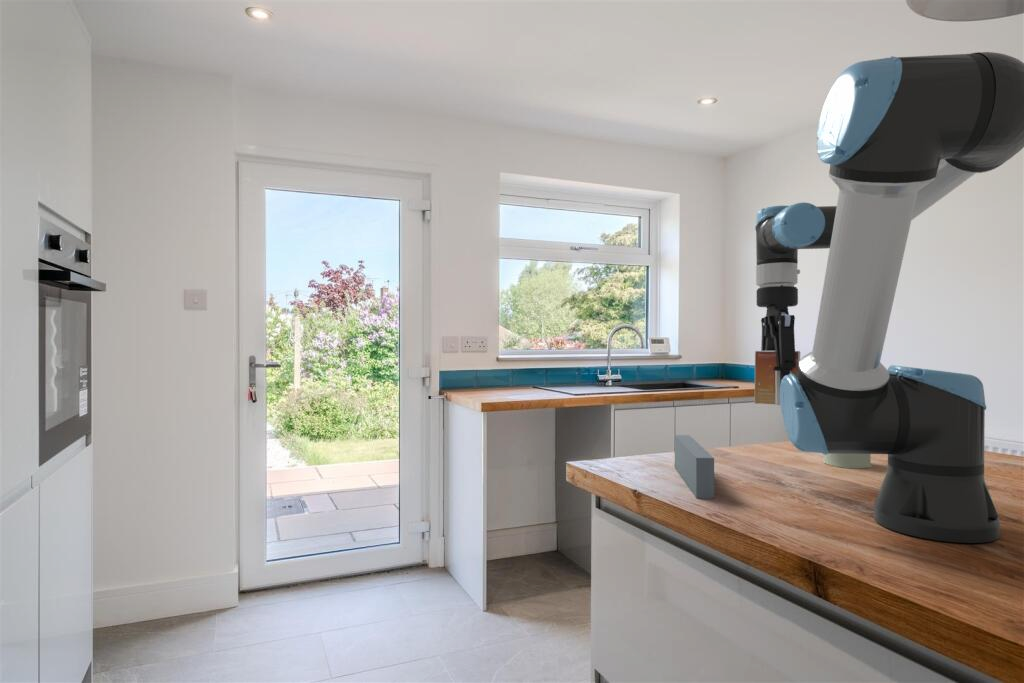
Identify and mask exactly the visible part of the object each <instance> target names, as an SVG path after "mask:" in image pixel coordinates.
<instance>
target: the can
mask: <svg viewBox="0 0 1024 683" xmlns="http://www.w3.org/2000/svg"><path fill="white" fill-rule="evenodd" d="M871 455H872V454H840V453H828V454H827V455H825V454H823V460H822V463H823V462H824V463H823V464H825V463H826V464H825V465H827V464H829V465H828V466H830V465H832V466H831V467H835V466H837V468H841V467H844V468H843V469H856V470H857V469H868V468H871V467H872V461H871Z"/></svg>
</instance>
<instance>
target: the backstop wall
mask: <svg viewBox="0 0 1024 683" xmlns="http://www.w3.org/2000/svg"><path fill="white" fill-rule="evenodd" d="M674 470H676V472H677V474H678V475H679V476H680V477H681V479H682V481H683V482H684V483H685V484H686V486H687V487H688V489H689V491H690V492H691V493H692V494H693V495H694V497H695V498H696V499H715V457H714V456H713V455H712V454H710V453H709V452H708V451H707V450H706V449H705V448H704V446H702V445H701V444H700V443H698V441H696V439H694V437H692V436H690V435H689V434H674Z"/></svg>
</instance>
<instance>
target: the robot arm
mask: <svg viewBox="0 0 1024 683" xmlns="http://www.w3.org/2000/svg"><path fill="white" fill-rule="evenodd" d="M820 112H821V113H820V116H819V121H818V126H817V131H816V132H817V133H816V139H817V144H816V151H817V155H818V158H819V160H821V162H822V163H824V164H827V165H829V171H828V177H829V178H830V179H831V180H832V181H833V183H834V184H836V186H837V187H838V189H839V191H838V195H837V201H836V202H837V203H836V205H831V206H830V205H829V206H828V205H826V206H824V205H823V206H817V205H815V204H813V203H810V202H796V203H793V204H790V205H773V206H767V207H766V208H761V209H759V211H758V212H756V213H757V214H756V222H755V227H754V230H755V236H756V238H755V239H756V240H755V242H756V243H755V244H756V245H755V246H756V247H755V248H756V252H755V254H756V265H755V276H756V277H755V283H756V284H755V285H756V286H758V287H759V288H757V289H756V306H757V307H758V308H765V309H766V315H765V316H764V317H761V320H760V322H761V346H760V347H761V348H760V351H775V352H776V361H777V367H774V368H773V370H774V371H775V397H776V405H775V406H780V409H781V416H782V420H783V425H784V428H785V433H786V434H787V437H788V439H789V441H790V443H792V445H793V446H794V447H795V448H796V449H797V450H798V451H801V452H804V453H815V454H817V453H818V454H822V455H824V454H825V455H827V454H828V453H840V454H871V455H887V470H886V473H885V476H884V479H883V481H882V484H881V486H880V488H879V491H878V494H877V496H876V499H875V502H874V505H873V506H874V508H873V510H874V511H873V512H874V513H873V517H874V518H873V519H874V521H875V522H876V523H877V524H879V525H881V526H882V527H884V528H886V529H888V530H892V531H894V532H897V533H900V534H905V535H909V536H913V537H918V538H922V539H927V540H933V541H939V542H947V543H948V542H949V543H960V544H961V543H962V544H980V543H981V544H983V543H989V542H994V541H996V540H998V539H1000V537H1001V525H1000V524H1001V521H1000V517H999V515H998V512H997V509H996V507H995V504H994V502H993V499H992V496H991V494H990V491H989V489H988V486H987V483H986V480H985V422H986V421H985V416H986V414H985V411H986V410H987V405H986V399H985V389H984V384H983V382H982V381H981V379H980V378H979V377H977V376H975V375H972V374H968V373H960V372H954V371H953V372H952V371H945V370H944V371H943V370H935V369H928V368H919V367H912V366H903V365H902V366H901V365H894V364H893V365H889V366H888V369H887V367H886V366H884V365H883V364H882V362H881V359H882V355H883V350H884V345H885V341H886V337H887V336H886V335H887V331H888V327H889V322H890V318H891V314H892V309H893V305H894V299H895V297H896V296H895V294H896V292H897V287H898V282H899V278H900V272H901V268H902V263H903V260H904V255H905V251H906V245H907V241H908V238H909V233H910V228H911V225H912V221H913V220H915V218H917V217H918V216H919V215H921V214H923V213H924V212H925V211H926V210H928V209H929V208H930V207H932V206H934V205H935V204H936V203H937V202H939V201H940V200H942V199H943V198H944V197H946V196H948V194H950V193H951V192H952V191H954V190H955V189H956V188H958V187H959V186H961V185H962V184H963V183H965V182H967V181H968V180H969V179H970V178H971V177H973V176H974V175H975V174H982V173H988V172H990V171H993V170H996V169H997V168H999V167H1000V166H1002V165H1004V164H1005V163H1006V162H1008V161H1009V160H1010V159H1012V158H1013V157H1014V156H1016V155H1017V154H1019V153H1020V152H1021V151H1022V150H1023V149H1024V62H1023V61H1021V60H1020V59H1019V58H1016V57H1013V56H1011V55H1008V54H1004V53H1000V52H993V51H992V52H991V51H983V52H981V51H980V52H979V51H978V52H972V53H960V54H959V53H956V54H939V55H938V54H937V55H919V56H916V55H915V56H898V57H896V56H889V57H884V58H877V59H871V60H870V59H869V60H863V61H858V62H855V63H853V64H851V65H850V66H848V67H847V68H846V69H844V70H843V71H842V72H841V74H839V76H838V77H837V79H836V80H835V82H834V83H833V85H832V86H831V88H830V90H829V92H828V94H827V97H826V99H825V101H824V103H823V107H822V109H821V111H820ZM814 249H815V250H819V249H820V250H821V249H829V251H828V256H827V257H828V258H827V263H826V269H825V275H824V279H823V281H824V282H823V287H822V293H821V299H820V305H819V311H818V315H817V316H818V317H817V321H816V322H817V323H816V328H815V333H814V334H815V335H814V339H813V340H814V341H813V346H812V351H811V352H809V353H807V354H805V355H804V356H802V357H800V362H799V367H798V373H797V375H795V374H791V371H792V369H793V368H795V367H796V360H795V351H796V344H795V341H796V340H795V339H796V338H795V320H796V317H795V315H794V314H789V313H790V312H789V307H796V306H798V304H799V289H798V287H796V286H795V285H798V282H799V281H798V278H799V277H798V275H799V274H800V273H801V270H800V269H798V261H799V260H798V259H799V258H798V255H799V254H798V250H814Z"/></svg>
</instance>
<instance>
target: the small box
mask: <svg viewBox="0 0 1024 683" xmlns="http://www.w3.org/2000/svg"><path fill="white" fill-rule="evenodd" d="M800 359H801V351H800V350H795V360H796V367H795V368H793V369H792V371H791V374H795V375H797V373H798V367H799V362H800ZM774 367H777V361H776V352H775V351H761V350H756V351H755V352H754V400H753V401H754V404H755V405H756V404H765V405H775V406H777V405H776V397H775V371H774V370H773V368H774Z"/></svg>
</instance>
